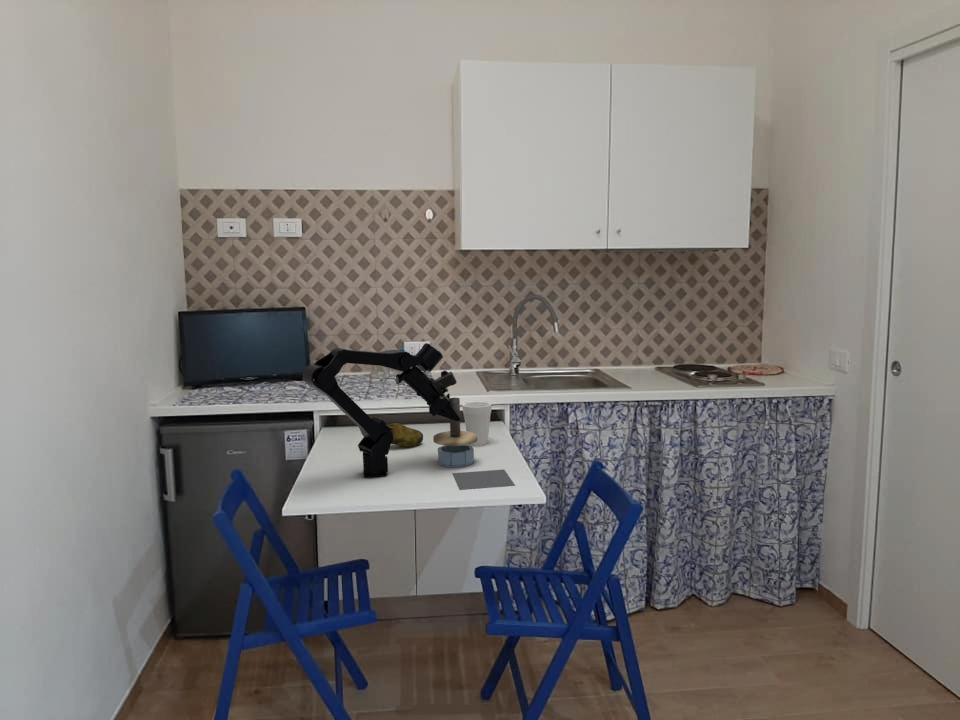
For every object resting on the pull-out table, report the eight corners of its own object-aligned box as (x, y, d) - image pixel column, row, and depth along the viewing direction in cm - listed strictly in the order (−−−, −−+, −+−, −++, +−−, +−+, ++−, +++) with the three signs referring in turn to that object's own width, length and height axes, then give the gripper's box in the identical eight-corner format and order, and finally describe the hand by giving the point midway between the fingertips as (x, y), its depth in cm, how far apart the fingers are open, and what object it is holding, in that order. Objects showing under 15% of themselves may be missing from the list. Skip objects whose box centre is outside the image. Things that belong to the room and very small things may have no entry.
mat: (459, 490, 193) (459, 489, 193) (452, 474, 207) (452, 473, 207) (515, 486, 195) (515, 485, 195) (504, 470, 210) (504, 469, 210)
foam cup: (467, 448, 234) (466, 408, 233) (460, 441, 243) (459, 402, 241) (495, 445, 237) (494, 405, 235) (487, 438, 246) (486, 400, 244)
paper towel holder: (435, 447, 209) (434, 404, 208) (431, 436, 222) (430, 395, 220) (480, 444, 211) (479, 401, 210) (474, 433, 224) (473, 393, 222)
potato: (424, 448, 235) (423, 424, 234) (384, 451, 233) (383, 426, 232) (423, 442, 243) (422, 418, 242) (384, 444, 242) (382, 420, 240)
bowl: (440, 469, 212) (440, 454, 212) (437, 459, 222) (436, 445, 222) (475, 466, 214) (475, 451, 213) (470, 457, 224) (470, 443, 223)
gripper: (439, 368, 204) (480, 406, 206) (439, 358, 222) (476, 393, 225) (412, 397, 205) (452, 434, 207) (414, 385, 223) (451, 419, 225)
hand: (459, 419), depth 216 cm, fingers closed on paper towel holder, 3 cm apart
